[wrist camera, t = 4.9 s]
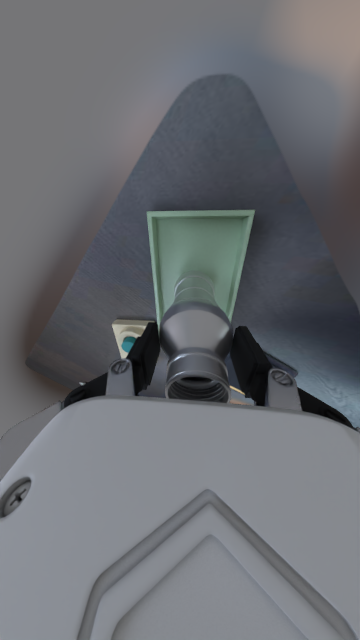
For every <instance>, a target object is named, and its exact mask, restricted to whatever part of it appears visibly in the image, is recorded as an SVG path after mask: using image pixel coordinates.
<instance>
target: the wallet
mask: <svg viewBox="0 0 360 640" xmlns="http://www.w3.org/2000/svg"><path fill="white" fill-rule="evenodd" d="M264 354H265V355H266V357H267V358H268V360H269V362H270V363H271V365H272V366H273V368H279V369H282V370H284V371H286V372H288V373H289V374H290V375H292V376H293V378H294V377H296V376H297V374H298V373H297V372H296V371H295V370H293V369H292V368H290V367H288V366H287V365H285V364H283V363H281V362H280V361H278V360H276V359H274V358H273V357H271V356H269V355H268V354H266V353H264ZM224 362H225V364H226V367H227V371H228V377H227V378H228V381H229V385H230V388H231V389H233V390H235V391H237V392H239V393H241V394H243V395H244V393H243V392H241V389H240V386H239V383H238V379H237V376H236V373H235V370H234V367H233V364H232V360H231V357H230V352H229V354H228V355H227V357H226V359H225V361H224ZM251 399H252V398H251Z"/></svg>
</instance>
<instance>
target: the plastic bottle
mask: <svg viewBox="0 0 360 640" xmlns="http://www.w3.org/2000/svg"><path fill="white" fill-rule="evenodd" d="M174 295H175V300H174V302H173V304H172V305H171V306H170V308H169V309H168V310H167V311H166V313H165V314H164V316H163V318H162V320H161V322H160V325H159V340H160V345H161V348H162V349H163V351H164V353H165V355H166V356H167V358H168V359H169V360H168V364H167V379H166V385H165V395H166V398H168V399H181V400H193V401H205V402H217V403H229V402H230V400H231V389H230V385H229V381H228V378H227V377H228V371H227V367H226V364H225V362H224V361H225V359H226V357H227V355H228V354H229V352H230V350H231V347H232V343H233V329H232V325H231V323H230V321H229V319H228V317H227V315H226V314H225V313H224V311H223V310H222V309H221V308H220V307H219V305H218V304H217V303H216V301H215V298H214V295H215V289H214V284H213V282H212V280H211V279H210V277H209V276H208V275H206V274H205V273H203V272H201V271H197V270H192V271H188V272H185V273H184V274H182V275H181V276H180V277H179V278H178V279H177V281H176V283H175V287H174Z"/></svg>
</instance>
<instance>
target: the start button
mask: <svg viewBox="0 0 360 640" xmlns="http://www.w3.org/2000/svg"><path fill="white" fill-rule="evenodd" d="M135 341H136V338H135V337H131V336H130V337H127V338H125V340H124V341H123V343H122V345H121V347H122V349H123V350H124V351H125V352H127V353H129V351H130V349H131V348H132V346H133V344H134V342H135Z"/></svg>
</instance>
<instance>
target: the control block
mask: <svg viewBox="0 0 360 640" xmlns="http://www.w3.org/2000/svg"><path fill="white" fill-rule="evenodd" d="M148 322H155V321H144V320H121V319H116V320H115V321H114V322H113V323H112V327H113V330H114V334H115V337H116V340H117V344H118V347H119V351H120V354H121V357H122V358H126V357H127V355H128V353H127V352H125V351H124V350H123V349H122V347H121V345H122V343H123V341H124V340H125V338H127V337H130V336H131V337H135V338H136V339H137V337H138V336H140V337H141V335H142V334H143V332H144V330H145V328H146V326H147V324H148ZM158 357H159V356H158ZM157 360H158V359H157Z"/></svg>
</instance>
